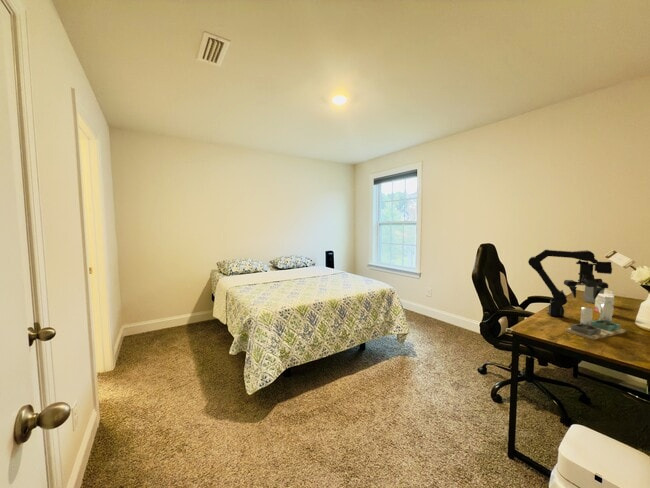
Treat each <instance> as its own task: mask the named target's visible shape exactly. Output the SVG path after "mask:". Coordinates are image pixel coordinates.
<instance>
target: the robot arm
mask: <svg viewBox="0 0 650 488" xmlns="http://www.w3.org/2000/svg"><path fill="white" fill-rule="evenodd" d="M548 257H553V258H556V257H557V258H568V259H576V260H578V261H576V262H575V264H576V265H579V272H578V275H579V276H578V279H577V281H575V280H573V279H565V280H564V281H563V285H565V286H566V287H568V288H569V289H570V292H571V294H572V296H573V298H574V299H576V298H577V289H578V288H577V286H585V285H586V286H587V287H593V299H596V297H597V295H598V294H599V292H600V291H601V290H603V289H605V290H606V289H609V284H608V283H607V282H605V281H603V279H602V278H595V274H594V272H596V273H597V274H605V275H612V273H613V267H612V262H611V261H598V260H597V258H595V257H596V256H595V254H594V253H593V252H592V251H590V250H588V249H587V250H577V251H576V250H575V251H567V250H553V249H544V250H543V251H542V252H540V253H538V254H537V255H535V256H531V257H529V259H528V262H527V263H528V265H529V266H530V267H531V268H532V269H533V270H534V271H536V273H537V274H538V275H539V277H540V278H541V280H542V281H543V283H544V284H545V286H546V287H547V288H548V290H549V291H550V292H551V293H550V294H552V297H553V298H552V299H550V300H549V303H550V304H548V312H547V315H549V316H550V317H555V318H565V309H564V305H566V304H567V303H568V296H567V294H565V292H564V291H563V289H561V290H560V289H559V288H558V287H557V286H556V285H555V283H554V282H553V280H552V278H551V277H550V276H549V274H548V273H547V272H546V271H545V269H544V266H543V265H542V261H543V260H545V259H546V258H548ZM589 262H590V263H589Z"/></svg>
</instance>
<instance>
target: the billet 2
mask: <svg viewBox="0 0 650 488" xmlns="http://www.w3.org/2000/svg"><path fill="white" fill-rule="evenodd" d="M612 309H613V305H610V304H601V311H600V313H599V320H600V322H599V323H601V324H604V325H608V326H611V322H612V319H613V317H612ZM613 310H614V309H613Z"/></svg>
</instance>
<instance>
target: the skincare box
mask: <svg viewBox="0 0 650 488" xmlns="http://www.w3.org/2000/svg"><path fill="white" fill-rule="evenodd" d="M599 294H604V289H603V290H601V291H600V292H599ZM582 300H583V302H585V303H589V304H590V303H591V304H594V305H595V299H593V287H587V286H586V285H584V293H583V299H582Z"/></svg>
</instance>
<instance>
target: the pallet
mask: <svg viewBox="0 0 650 488" xmlns="http://www.w3.org/2000/svg"><path fill="white" fill-rule="evenodd" d="M599 322H600V319H596V320H592V329H591V330H588V329H585V328H581V327H580V323H574V324H570V327H567V328H565V330H564V331H565V332H568V333H570V334H573V335H576V336H580V337H583V338H585V339H589V340H591V341H593V340H597V339H602V338H607V337H611V336H616V335H621V334H625V333H626V329H623V328H621V324H619V323H615V322H612V321H611V326H608V325H604V324H601V323H599Z"/></svg>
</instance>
